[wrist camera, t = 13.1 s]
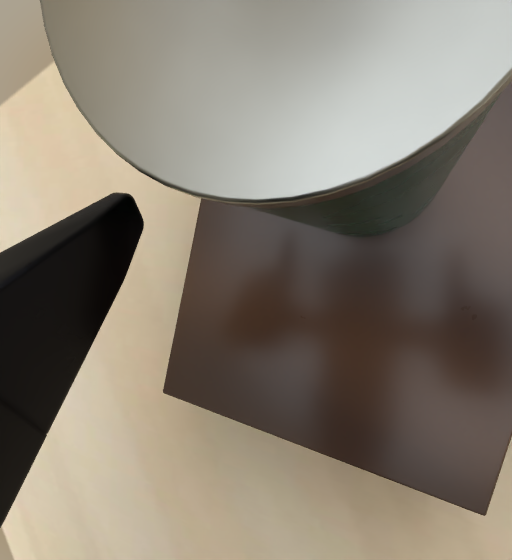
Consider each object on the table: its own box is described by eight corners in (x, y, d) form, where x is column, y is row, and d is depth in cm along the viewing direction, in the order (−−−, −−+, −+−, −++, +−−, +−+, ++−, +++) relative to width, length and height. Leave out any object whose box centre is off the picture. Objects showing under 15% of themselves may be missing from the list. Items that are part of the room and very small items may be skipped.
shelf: (465, 455, 20) (485, 517, 16) (207, 365, 24) (161, 393, 20) (572, 116, 18) (633, 68, 13) (268, 81, 22) (232, 35, 18)
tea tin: (373, 270, 16) (303, 320, 4) (257, 176, 18) (-35, 22, 6) (489, 137, 15) (854, -323, 3) (353, 44, 16) (224, -540, 4)
